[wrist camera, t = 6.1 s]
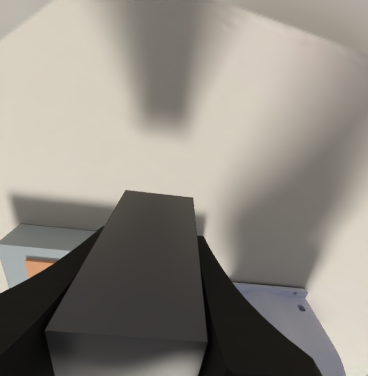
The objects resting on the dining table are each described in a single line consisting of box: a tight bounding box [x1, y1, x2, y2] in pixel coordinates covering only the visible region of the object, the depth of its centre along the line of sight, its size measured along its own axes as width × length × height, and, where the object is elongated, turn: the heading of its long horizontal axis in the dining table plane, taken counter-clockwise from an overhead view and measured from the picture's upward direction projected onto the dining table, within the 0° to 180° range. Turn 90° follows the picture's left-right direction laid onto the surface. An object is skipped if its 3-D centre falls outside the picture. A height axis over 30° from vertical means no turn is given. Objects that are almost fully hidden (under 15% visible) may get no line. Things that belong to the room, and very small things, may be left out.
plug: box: [45, 190, 208, 376], centre depth 10 cm, size 4×4×8 cm
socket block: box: [0, 224, 96, 289], centre depth 23 cm, size 18×16×3 cm
